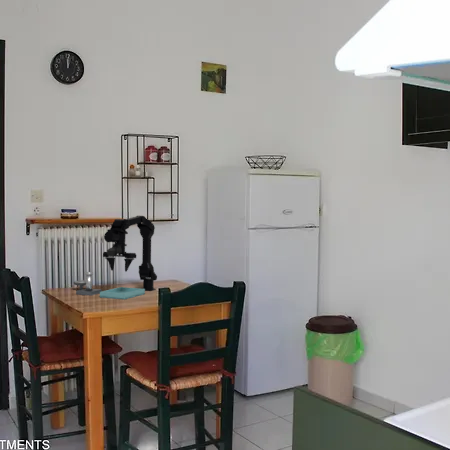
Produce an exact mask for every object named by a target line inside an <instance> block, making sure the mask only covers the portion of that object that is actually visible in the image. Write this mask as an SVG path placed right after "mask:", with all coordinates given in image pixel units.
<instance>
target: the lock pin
mask: <svg viewBox="0 0 450 450" xmlns="http://www.w3.org/2000/svg"><path fill="white" fill-rule="evenodd" d="M84 275H85V280H86V285H85V289H86V291H92V289H93V275H94V272H92V271H85V272H84Z"/></svg>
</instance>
